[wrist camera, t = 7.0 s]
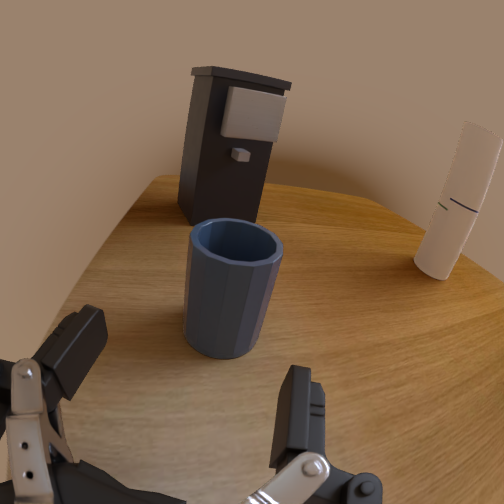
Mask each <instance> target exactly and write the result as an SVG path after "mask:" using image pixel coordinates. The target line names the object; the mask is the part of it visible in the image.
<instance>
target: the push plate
mask: <svg viewBox="0 0 504 504" xmlns="http://www.w3.org/2000/svg"><path fill="white" fill-rule="evenodd" d="M286 99H287V97H284V96H280V95H275V94H270V93H265V92H260V91H255V90H250V89H244V88H238V87H231V86H229V89H228V94H227V99H226V104H225V110H224V115H223V120H222V126H221V132H220V135H222V136H224V137H229V138H240V139H250V140H259V141H268V142H277V139H278V134H279V129H280V125H281V121H282V116H283V112H284V107H285V103H286Z"/></svg>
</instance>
